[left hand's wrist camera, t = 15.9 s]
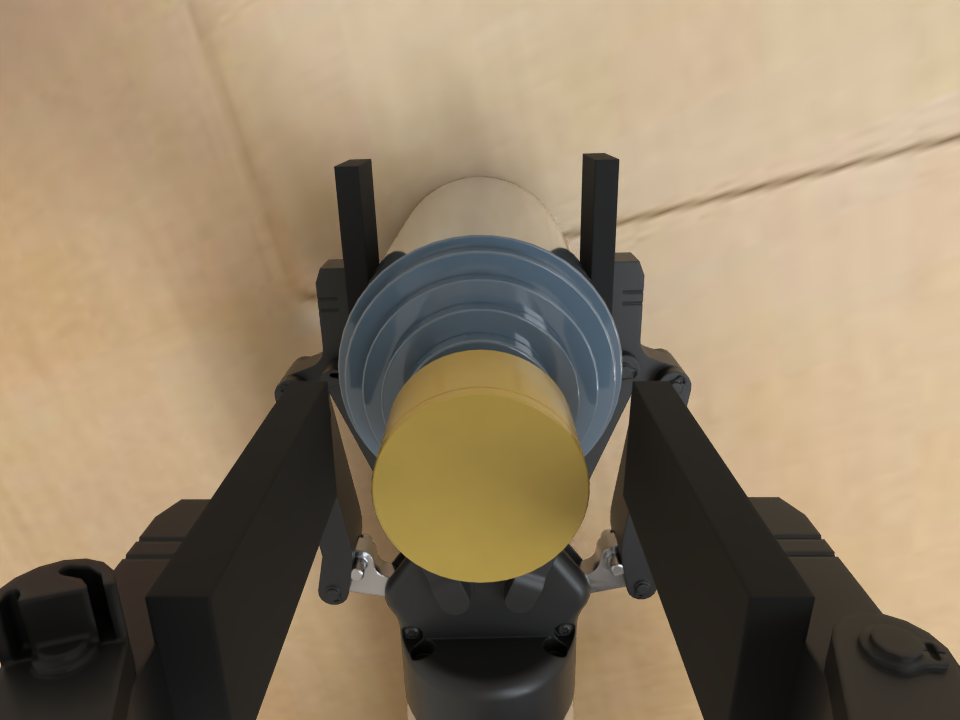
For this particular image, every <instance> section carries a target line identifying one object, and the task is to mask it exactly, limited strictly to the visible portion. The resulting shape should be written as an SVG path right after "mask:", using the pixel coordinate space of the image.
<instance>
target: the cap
mask: <svg viewBox="0 0 960 720" xmlns="http://www.w3.org/2000/svg"><path fill="white" fill-rule="evenodd" d="M589 494H590V481H589V475H588V468H587V465H586V462H585V458H584V455H583V451H582V448H581V445H580V441H579V438H578V434H577V431H576V427H575V424H574V421H573V417H572V414H571V411H570V408H569V405H568V403H567V401H566V399H565V396H564V395H563V393H562V392H561V390H560V389H559V387H558V386H557V385H556V383H555V382H554V381H553V380H552V379H551V378H550V377H549V376H548V375H547V374H546V373H545V372H543V371H542V370H541V369H540V368H538V367H537V366H535V365H533V364H532V363H530V362H528V361H526V360H524V359H522V358H520V357H518V356H514V355H511V354H508V353H504V352H499V351H494V350H467V351H462V352H456V353H453V354H450V355H446V356H443V357H441V358H439V359H437V360H435V361H432V362H431V363H429V364H428V365H426V366H424V367H423V368H421V369H420V370H419V371H418V372H416V373H415V374H414V375H413V376H412V377H411V378H410V379H409V380H408V381H407V382H406V383H405V384H404V386H403V387H402V389H401V390H400V392H399V393H398V395H397V397H396V399H395V401H394V403H393V405H392V408H391V411H390V414H389V417H388V420H387V424H386V427H385V431H384V434H383V438H382V441H381V445H380V448H379V452H378V455H377V459H376V462H375V465H374V470H373V476H372V499H373V506H374V509H375V513H376V516H377V518H378V521H379V523H380V525H381V527H382V529H383V531H384V532H385V534H386V535H387V537H388V539H389V540H390V541H391V542H392V543H393V545H394V546H395V547H396V548H397V549H398V550H399V551H400V552H401V553H402V554H403V555H404V556H405V557H407V558H408V559H409V560H411V561H412V562H414V563H415V564H416V565H418V566H420V567H422V568H424V569H425V570H427V571H429V572H432V573H434V574H437V575H439V576H442V577H446V578H449V579H453V580H458V581H464V582H477V583H483V582H496V581H503V580H508V579H512V578H515V577H519V576H522V575H524V574H527V573H529V572H532V571H534V570H536V569H537V568H539V567H541V566H543V565H545V564H546V563H547V562H549V561H550V560H552V559H553V558H554V557H556V556H557V555H558V554H559V553H560V552H561V551H562V550H563V549H564V548H565V547H566V546H567V545H568V544H569V542H570V541H571V540H572V539H573V537H574V536H575V534H576V532H577V531H578V529H579V527H580V525H581V523H582V521H583V519H584V516H585V513H586V510H587V506H588V500H589Z"/></svg>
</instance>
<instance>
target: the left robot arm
mask: <svg viewBox="0 0 960 720" xmlns="http://www.w3.org/2000/svg"><path fill="white" fill-rule="evenodd" d="M336 497H337V487H336V476H335V464H334V453H333V441H332V429H331V418H330V406H329V394H328V383H327V381H290V383H289V384H288V386H287V387H286V389H285V390H284V392H283V393H282V395H281V396H280V398H279V399H278V401H277V402H276V404H275V405H274V406H273V408H272V409H271V411H270V412H269V414H268V415H267V417H266V418H265V420H264V421H263V423H262V424H261V426H260V427H259V429H258V430H257V432H256V433H255V435H254V436H253V438H252V439H251V441H250V442H249V444H248V445H247V446H246V448H245V449H244V451H243V452H242V454H241V455H240V457H239V458H238V460H237V461H236V463H235V464H234V466H233V467H232V469H231V470H230V472H229V473H228V475H227V476H226V478H225V479H224V481H223V482H222V484H221V485H220V487H219V488H218V489H217V491H216V492H215V494H214V495H213V497H212V498H211V499H181V500H180V501H178V502H177V503H176V504H174V505H173V506H171V507H170V508H168V509H167V510H165V511H164V512H162V513H161V514H159V515H158V516H156V517H155V518H154V520H153V521H152V522H151V523H150V525H149V526H148V527H147V528H146V530H145V531H144V532H143V534H142V535H141V536H140V537H139V542H136V543H135V544H134V545H133V546H132V548H131V549H130V550H129V552H128V553H127V554H126V559H122V561H121V562H120V563H119V564H118V566H117V567H116V568H115V570H113V569H111V568H110V567H109V566H108V565H106V564H105V563H104V562H101V561H96V560H91V559H73V560H63V561H59V562H55V563H52V564H48V565H44V566H40V567H38V568H36V569H33V570H31V571H29V572H27V573H25V574H23V575H20V576H18V577H16V578H14V579H13V580H12V581H10V582H9V583H7V584H6V585H5V586H3V587H2V588H0V663H1V668H0V720H256V718H257V715H258V713H259V710H260V707H261V704H262V702H263V699H264V696H265V693H266V691H267V688H268V685H269V682H270V679H271V677H272V674H273V671H274V668H275V666H276V663H277V660H278V657H279V655H280V652H281V649H282V646H283V644H284V641H285V638H286V635H287V633H288V630H289V627H290V624H291V621H292V619H293V616H294V613H295V610H296V608H297V605H298V602H299V599H300V597H301V594H302V591H303V588H304V586H305V583H306V580H307V577H308V574H309V572H310V569H311V566H312V563H313V561H314V558H315V555H316V552H317V550H318V547H319V544H320V541H321V539H322V536H323V533H324V530H325V528H326V525H327V522H328V519H329V516H330V514H331V511H332V508H333V505H334V503H335V500H336ZM623 497H624V500H625V503H626V505H627V508H628V511H629V514H630V516H631V519H632V522H633V525H634V528H635V530H636V533H637V536H638V539H639V541H640V544H641V547H642V550H643V552H644V555H645V558H646V561H647V563H648V566H649V569H650V572H651V575H652V577H653V580H654V583H655V586H656V588H657V591H658V594H659V597H660V599H661V602H662V605H663V608H664V610H665V613H666V616H667V619H668V621H669V624H670V627H671V630H672V633H673V635H674V638H675V641H676V644H677V646H678V649H679V652H680V655H681V657H682V660H683V663H684V666H685V668H686V671H687V674H688V677H689V680H690V682H691V685H692V688H693V691H694V693H695V696H696V699H697V702H698V704H699V707H700V710H701V713H702V715H703V718H704V720H960V666H959V664H958V663H957V662H956V660H955V659H954V657H953V656H952V654H951V653H950V651H949V650H948V648H946V647H945V646H944V645H943V644H942V643H940V642H939V641H938V640H937V639H936V638H934V637H933V636H932V635H931V634H929V633H928V632H926V631H924V630H922V629H920V628H918V627H916V626H915V625H913V624H911V623H909V622H907V621H904V620H901V619H898V618H895V617H891V616H888V615H885V614H882V612H881V611H880V610H879V609H878V607H877V606H876V605H875V603H874V602H873V601H872V600H871V598H870V597H869V596H868V595H867V593H866V592H865V591H864V589H863V588H862V587H861V586H860V584H859V583H858V582H857V580H856V579H855V578H854V577H853V575H852V574H851V573H850V572H849V570H848V569H847V568H846V566H845V565H844V564H843V563H842V561H841V560H840V559H839V558H838V557H835V555H834V553H835V552H834V551H833V550H832V549H831V547H830V546H829V545H828V544H827V542H826V541H825V540H824V539H821V535H820V533H819V532H818V531H817V529H816V528H815V527H814V526H813V524H812V523H811V522H810V521H809V519H808V518H807V517H806V515H804V514H803V513H801V512H800V511H798V510H797V509H796V508H794V507H793V506H791V505H790V504H788V503H787V502H785V501H784V500H782V499H781V498H779V497H747V495H746V494H745V492H744V491H743V489H742V488H741V487H740V485H739V484H738V482H737V481H736V479H735V478H734V476H733V475H732V473H731V472H730V470H729V469H728V467H727V466H726V464H725V463H724V461H723V460H722V458H721V457H720V455H719V454H718V452H717V451H716V449H715V448H714V447H713V445H712V444H711V442H710V441H709V439H708V438H707V436H706V435H705V433H704V432H703V430H702V429H701V427H700V426H699V424H698V423H697V421H696V420H695V418H694V417H693V415H692V414H691V412H690V411H689V409H688V408H687V407H686V405H685V404H684V402H683V401H682V399H681V398H680V396H679V395H678V393H677V392H676V390H675V389H674V387H673V386H672V384H671V383H670V381H633V383H632V394H631V406H630V417H629V429H628V441H627V452H626V464H625V476H624V487H623Z"/></svg>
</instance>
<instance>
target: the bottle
mask: <svg viewBox="0 0 960 720" xmlns="http://www.w3.org/2000/svg"><path fill="white" fill-rule="evenodd" d="M467 350H494V351H499V352H504V353H508V354H511V355H514V356H518V357H520V358H522V359H524V360H526V361H528V362H530V363H532V364H533V365H535V366H537V367H538V368H540V369H541V370H542V371H543V372H545V373H546V374H547V375H548V376H549V377H550V378H551V379H552V380H553V381H554V382H555V383H556V385H557V386H558V387H559V389H560V390H561V392H562V393H563V395H564V396H565V399H566V401H567V403H568V405H569V408H570V411H571V414H572V417H573V421H574V424H575V427H576V431H577V434H578V438H579V441H580V445H581V448H582V451H583V455H584V457H585V456H586V455H587V454H588V452H589V451H590V450H591V449H592V448H593V447H594V446H595V444H596V443H597V441H598V440H599V439H600V437H601V436H602V435H603V433H604V431H605V429H606V427H607V426H608V424H609V422H610V420H611V418H612V415H613V413H614V410H615V408H616V405H617V402H618V398H619V393H620V389H621V382H622V372H623V365H622V350H621V345H620V340H619V335H618V332H617V329H616V326H615V323H614V320H613V318H612V316H611V314H610V312H609V310H608V308H607V306H606V304H605V302H604V300H603V299H602V297H601V296H600V294H599V292H598V291H597V289H596V287H595V286H594V284H593V283H592V281H591V279H590V278H589V276H588V275H587V273H586V271H585V270H584V268H583V266H582V265H581V263H580V262H579V260H578V258H577V257H576V255H575V253H574V252H573V250H572V249H571V247H570V245H569V244H568V242H567V241H566V239H565V237H564V236H563V234H562V232H561V231H560V229H559V228H558V226H557V224H556V223H555V221H554V220H553V218H552V216H551V215H550V214H549V212H548V211H547V209H546V208H545V207H544V206H543V205H542V203H541V202H540V201H539V200H538V199H537V198H535V197H534V196H533V195H532V194H530V193H529V192H528V191H526V190H524V189H523V188H521V187H520V186H517V185H515V184H513V183H511V182H508V181H504V180H501V179H497V178H490V177H471V178H463V179H460V180H456V181H453V182H450V183H448V184H445V185H443V186H441V187H439V188H438V189H436V190H434V191H433V192H431V193H430V194H429V195H428V196H426V197H425V198H424V199H423V200H422V201H421V202H420V203H419V204H418V205H417V206H416V207H415V209H414V210H413V211H412V213H411V214H410V215H409V217H408V219H407V220H406V222H405V224H404V225H403V227H402V228H401V230H400V232H399V233H398V235H397V237H396V238H395V240H394V242H393V243H392V245H391V246H390V248H389V250H388V251H387V253H386V255H385V256H384V258H383V259H382V261H381V263H380V264H379V266H378V268H377V269H376V271H375V272H374V274H373V276H372V277H371V279H370V281H369V282H368V284H367V286H366V287H365V289H364V290H363V292H362V294H361V295H360V297H359V299H358V300H357V302H356V304H355V306H354V308H353V309H352V311H351V313H350V315H349V318H348V320H347V323H346V326H345V328H344V331H343V335H342V339H341V344H340V348H339V361H338V373H339V385H340V390H341V394H342V399H343V402H344V405H345V408H346V411H347V414H348V416H349V418H350V420H351V422H352V424H353V426H354V428H355V430H356V432H357V433H358V435H359V436H360V438H361V439H362V440H363V442H364V443H365V445H366V446H367V447H368V448H369V449H370V450H371V452H372V453H373V454H374V455H375V456H376V457H377V455H378V452H379V448H380V445H381V441H382V438H383V434H384V431H385V427H386V424H387V420H388V417H389V414H390V411H391V408H392V405H393V403H394V401H395V399H396V397H397V395H398V393H399V392H400V390H401V389H402V387H403V386H404V384H405V383H406V382H407V381H408V380H409V379H410V378H411V377H412V376H413V375H414V374H415V373H416V372H418V371H419V370H420V369H421V368H423V367H424V366H426V365H428V364H429V363H431V362H432V361H435V360H437V359H439V358H441V357H443V356H446V355H450V354H453V353H456V352H462V351H467Z"/></svg>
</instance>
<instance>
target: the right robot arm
mask: <svg viewBox="0 0 960 720" xmlns="http://www.w3.org/2000/svg"><path fill="white" fill-rule="evenodd" d="M334 169H335V180H336V190H337V200H338V210H339V221H340V231H341V241H342V252H343V259H333V260H328V261H327V262H326V263H325V264H324V265H323V266H322V267H321V268H320V270H319V274H318V277H317V281H316V289H317V298H318V307H319V316H320V325H321V334H322V342H323V352H321V353H319V354H317V355H314V356H311V357H304V356H303V357H301V358H298V359H297V360H296V361H295V362H294V363H293V364H292V366H291V367H290V369H289V370H288V372H287V373H286V374H285V376H284V377H283V379H282V380H281V381H280V383H279V384H278V386H277V387H276V390H275V399H276V402H277V401H278V399H279V398H280V396H281V395H282V393H283V392H284V390H285V389H286V387H287V386H288V384H289V383H290V381H327V383H328V394H331V396H332V398H333V400H334V402H335V403H336V405H337V407H338V409H339V411H340V412H341V414H342V416H343V418H344V420H345V421H346V423H347V425H348V427H349V429H350V430H351V432H352V434H353V436H354V438H355V439H356V441H357V443H358V445H359V447H360V449H361V450H362V452H363V454H364V456H365V458H366V459H367V461H368V463H369V465H370V467H371V468H372V470H374V465H375V462H376V459H377V457H376V456H375V455H374V454H373V453H372V452H371V450H370V449H369V448H368V447H367V446H366V445H365V443H364V442H363V440H362V439H361V438H360V436H359V435H358V433H357V432H356V430H355V428H354V426H353V424H352V422H351V420H350V418H349V416H348V414H347V411H346V408H345V405H344V402H343V399H342V394H341V390H340V385H339V373H338V361H339V348H340V344H341V339H342V335H343V331H344V328H345V326H346V323H347V320H348V318H349V315H350V313H351V311H352V309H353V308H354V306H355V304H356V302H357V300H358V299H359V297H360V295H361V294H362V292H363V290H364V289H365V287H366V286H367V284H368V282H369V281H370V279H371V277H372V276H373V274H374V272H375V271H376V269H377V268H378V266H379V253H378V241H377V228H376V215H375V202H374V190H373V177H372V164H371V159H357V160H348V161H346V162H343V163H341V164H339V165H337V166H335V167H334ZM618 175H619V159H617V158H615V157H612V156H610V155H608V154H605V153H591V154H583V167H582V203H581V238H580V263H581V265H582V266H583V268H584V270H585V271H586V273H587V275H588V276H589V278H590V279H591V281H592V283H593V284H594V286H595V287H596V289H597V291H598V292H599V294H600V296H601V297H602V299H603V300H604V302H605V304H606V306H607V308H608V310H609V312H610V314H611V316H612V318H613V320H614V323H615V326H616V329H617V332H618V335H619V340H620V345H621V350H622V365H623V372H622V382H621V389H620V393H619V398H618V402H617V405H616V408H615V410H614V413H613V415H612V418H611V420H610V422H609V424H608V426H607V427H606V429H605V431H604V433H603V435H602V436H601V437H600V439H599V440H598V441H597V443H596V444H595V446H594V447H593V448H592V449H591V450H590V451H589V452H588V454H587V455H586V456H585V457H584V458H585V462H586V465H587V468H588V475H589V479H590V477H591V475H592V473H593V471H594V469H595V467H596V465H597V463H598V461H599V459H600V457H601V455H602V453H603V451H604V449H605V447H606V445H607V443H608V441H609V439H610V436H611V434H612V432H613V430H614V428H615V426H616V424H617V422H618V420H619V418H620V416H621V414H622V412H623V410H624V408H625V406H626V404H627V402H628V400H629V398H630V396H631V394H632V383H633V381H670V383H671V384H672V386H673V387H674V389H675V390H676V392H677V393H678V395H679V396H680V398H681V399H682V401H683V402H684V404H685V405H686V407H687V403H688V399H689V395H690V391H691V382H690V379H689V377H688V376H687V375H686V373H685V372H684V371H683V369H682V368H681V367H680V365H679V364H678V363H677V361H676V360H675V359H674V357H673V356H672V355H671V354H670V353H669V352H668V351H667V350H664V349H651V348H648V347H645V346H643V345H641V344H640V336H641V320H642V302H643V288H644V273H643V270H642V268H641V265H640V262H639V260H638V259H637V258H636V257H635V256H634V255H633V254H632V253H615V240H616V218H617V197H618ZM329 406H330V418H331V429H332V441H333V453H334V464H335V476H336V487H337V497H336V500H335V503H334V505H333V508H332V511H331V514H330V516H329V519H328V522H327V525H326V528H325V530H324V533H323V536H322V539H321V541H320V544H319V546H320V549H321V553H322V556H323V557H322V565H321V573H320V581H319V589H318V592H319V596H320V598H321V599H322V600H323V601H324V602H326V603H328V604H331V605H338V604H340V603H343V602H344V601H345V600H346V599H347V597H348V594H349V591H351V592H358V593H365V594H372V595H378V596H385V599H386V602H387V604H388V606H389V607H390V609H391V610H392V611H393V612H394V614H395V615H396V617H397V618H398V621H399V624H400V630H401V642H402V654H403V666H404V677H405V689H406V697H407V701H408V705H407V716H408V720H574V698H573V696H574V687H575V657H576V627H577V619H578V616H579V614H580V612H581V610H582V608H583V607H584V606H585V604H586V603H587V601H588V599H589V597H590V593H593V592H599V591H604V590H609V589H614V588H620V587H625V586H626V588H627V591H628V593H629V595H631V596H632V597H633V598H636V599H646V598H649V597H651V596H652V595H653V594H654V593H655V591H656V590H657V588H656V586H655V583H654V580H653V577H652V575H651V572H650V569H649V566H648V563H647V561H646V558H645V555H644V552H643V550H642V547H641V544H640V541H639V539H638V536H637V533H636V530H635V528H634V525H633V522H632V519H631V516H630V514H629V511H628V508H627V505H626V503H625V500H624V497H623V487H624V476H625V464H626V452H627V441H628V431H627V435H626V440H625V444H624V449H623V454H622V458H621V463H620V468H619V472H618V477H617V481H616V486H615V491H614V495H613V500H612V505H611V515H610V522H611V530H604V531H603V532H602V533H601V537H600V539H599V540H598V542H597V545H596V551H595V553H594V554H593V556H592V557H590V558H588V559H586V560H582V558H581V557H580V556H579V555H578V554H577V552H576V551H575V550H574V549H573V548H572V547H571V545H570V544H568V545H567V546H566V547H565V548H564V549H563V550H562V551H561V552H560V553H559V554H558V555H557V556H556V557H554V558H553V559H552V560H550V561H549V562H547V563H546V564H545V565H543V566H541V567H539V568H537V569H536V570H534V571H532V572H529V573H527V574H524V575H522V576H519V577H515V578H512V579H508V580H503V581H496V582H483V583H477V582H464V581H458V580H453V579H449V578H446V577H442V576H439V575H437V574H434V573H432V572H429V571H427V570H425V569H424V568H422V567H420V566H418V565H416V564H415V563H414V562H412V561H411V560H409V559H408V558H407V557H405V556H404V555H403V554H402V553H401V552H400V553H399V554H398V556H397V557H396V558H395V560H394V561H393V562H392V564H390V563H387V562H385V561H383V560H382V559H381V558H380V557H379V555H378V552H377V547H376V545H375V543H374V542H373V541H372V537H371V536H370V535H368V534H362V516H361V511H360V506H359V503H358V499H357V495H356V491H355V488H354V484H353V480H352V476H351V473H350V469H349V465H348V462H347V458H346V454H345V450H344V447H343V443H342V439H341V436H340V432H339V428H338V424H337V421H336V417H335V413H334V409H333V406H332V402H331V398H330V395H329ZM628 429H629V426H628Z"/></svg>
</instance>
